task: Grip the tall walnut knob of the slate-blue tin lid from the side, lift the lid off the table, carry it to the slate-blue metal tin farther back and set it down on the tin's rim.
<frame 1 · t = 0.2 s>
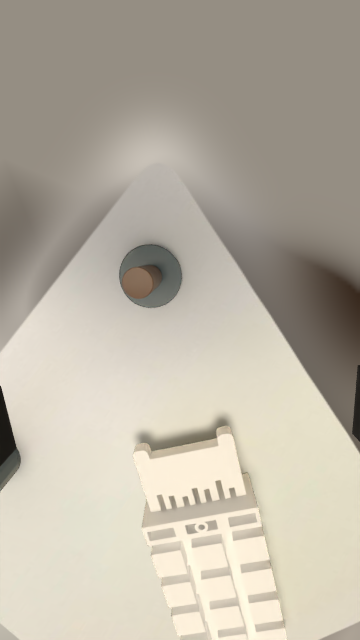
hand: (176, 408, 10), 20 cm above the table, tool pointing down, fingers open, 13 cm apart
organizer: (212, 537, 36), on the table
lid: (151, 276, 28), point 1 cm above the table
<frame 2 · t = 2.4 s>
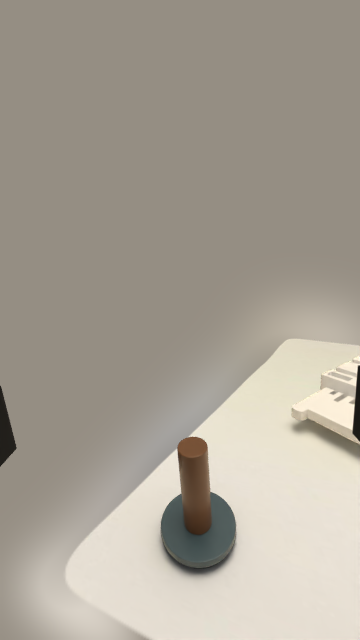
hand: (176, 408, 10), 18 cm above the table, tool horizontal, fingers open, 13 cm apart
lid: (198, 526, 23), point 1 cm above the table
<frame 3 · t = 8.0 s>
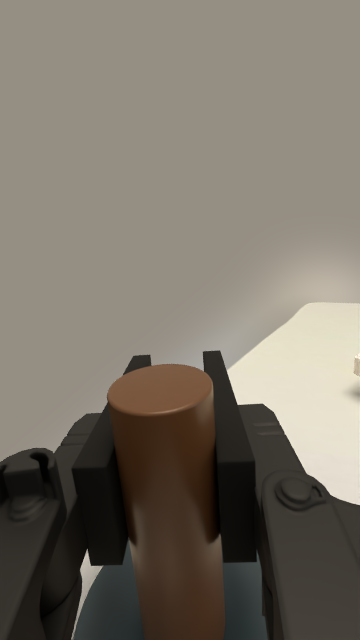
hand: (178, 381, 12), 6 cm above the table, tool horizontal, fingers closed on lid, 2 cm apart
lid: (185, 631, 8), point 1 cm above the table, touching gripper
when the fingers open (14 cm above the table, at t = 15.5 s): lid stays where it is, resting on tin.
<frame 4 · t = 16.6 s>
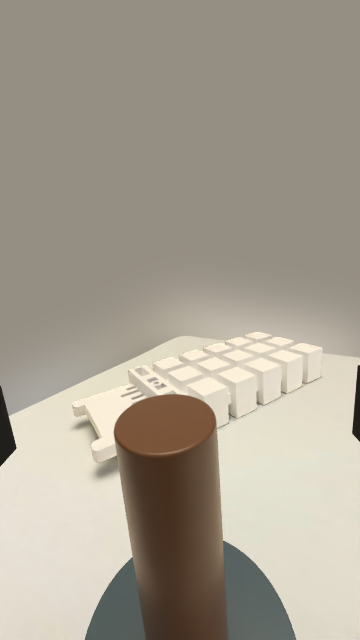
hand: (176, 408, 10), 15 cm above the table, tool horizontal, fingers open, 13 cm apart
organizer: (207, 397, 39), on the table
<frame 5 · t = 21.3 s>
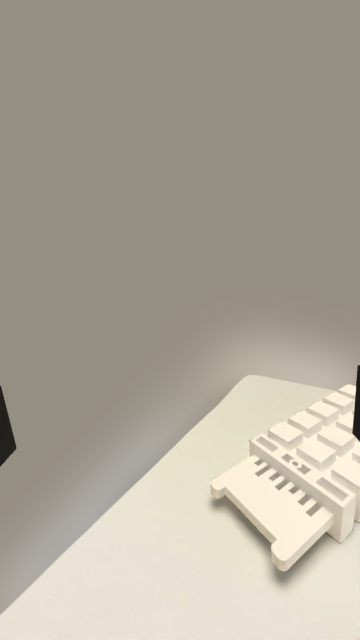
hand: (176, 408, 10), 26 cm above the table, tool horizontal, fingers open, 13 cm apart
organizer: (328, 468, 39), on the table
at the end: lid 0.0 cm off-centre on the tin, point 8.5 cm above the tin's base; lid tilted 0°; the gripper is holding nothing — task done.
